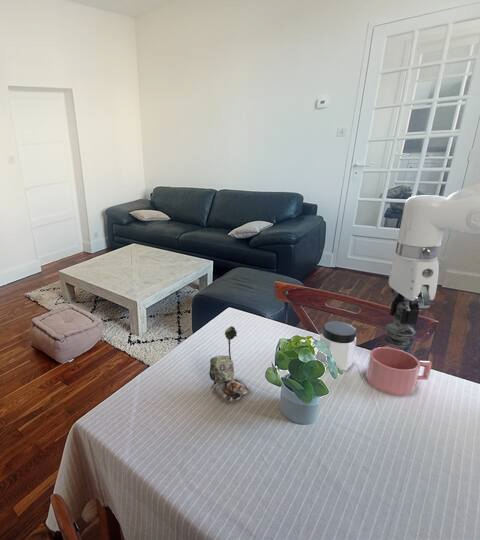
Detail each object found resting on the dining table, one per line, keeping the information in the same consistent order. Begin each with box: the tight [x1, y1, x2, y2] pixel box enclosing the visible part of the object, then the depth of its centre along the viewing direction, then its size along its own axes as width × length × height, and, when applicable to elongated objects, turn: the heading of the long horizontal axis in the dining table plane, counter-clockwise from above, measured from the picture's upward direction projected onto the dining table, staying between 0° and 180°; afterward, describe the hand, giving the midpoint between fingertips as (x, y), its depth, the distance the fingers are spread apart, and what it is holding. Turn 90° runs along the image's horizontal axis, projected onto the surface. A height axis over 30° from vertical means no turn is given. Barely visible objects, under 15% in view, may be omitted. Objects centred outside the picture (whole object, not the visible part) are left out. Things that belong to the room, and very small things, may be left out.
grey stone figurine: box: [384, 300, 416, 348], centre depth 85 cm, size 6×6×12 cm
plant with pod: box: [208, 325, 249, 402], centre depth 91 cm, size 8×11×20 cm
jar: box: [317, 320, 357, 371], centre depth 99 cm, size 9×8×12 cm
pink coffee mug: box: [365, 346, 433, 396], centre depth 90 cm, size 14×10×8 cm
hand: (402, 318), depth 84 cm, fingers closed on grey stone figurine, 3 cm apart
